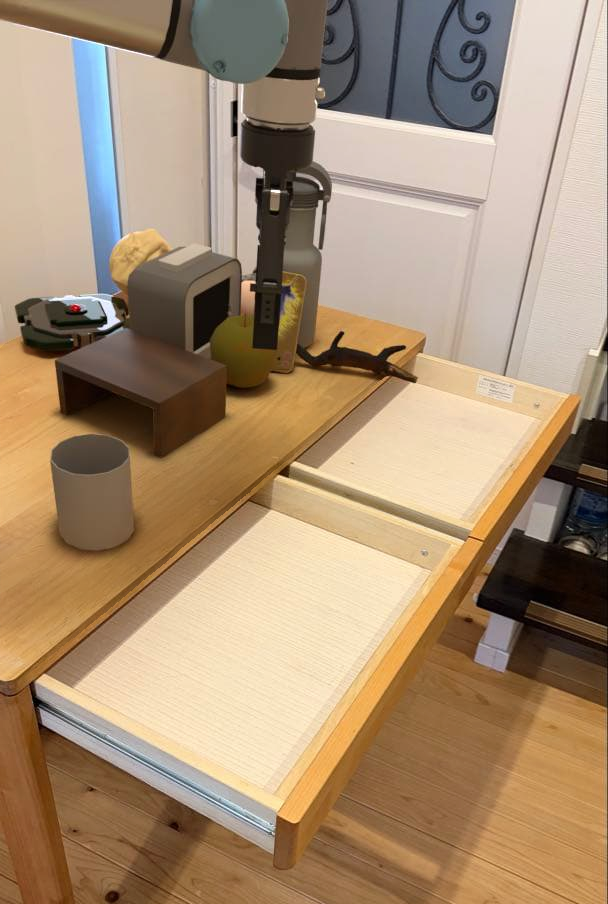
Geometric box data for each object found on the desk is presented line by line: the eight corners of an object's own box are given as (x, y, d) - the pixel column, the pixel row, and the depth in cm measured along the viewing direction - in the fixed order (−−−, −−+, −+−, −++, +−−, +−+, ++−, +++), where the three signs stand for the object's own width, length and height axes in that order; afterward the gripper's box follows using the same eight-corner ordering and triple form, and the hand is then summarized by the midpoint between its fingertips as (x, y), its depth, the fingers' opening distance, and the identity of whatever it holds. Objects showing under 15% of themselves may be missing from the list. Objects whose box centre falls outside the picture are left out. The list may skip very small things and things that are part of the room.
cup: (61, 507, 96) (52, 434, 90) (133, 504, 98) (128, 432, 92) (58, 552, 90) (48, 477, 84) (134, 548, 92) (130, 474, 85)
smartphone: (259, 266, 125) (259, 267, 126) (244, 365, 127) (244, 366, 128) (308, 275, 126) (307, 276, 127) (292, 374, 128) (292, 374, 129)
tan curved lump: (157, 320, 144) (116, 281, 135) (124, 298, 151) (84, 259, 142) (198, 269, 143) (160, 227, 135) (164, 250, 151) (125, 208, 142)
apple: (196, 380, 124) (196, 310, 117) (241, 362, 130) (244, 295, 123) (243, 404, 119) (245, 333, 112) (288, 384, 125) (293, 316, 118)
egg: (266, 280, 144) (284, 315, 142) (238, 303, 147) (255, 338, 144) (246, 266, 138) (265, 302, 136) (217, 290, 141) (235, 326, 138)
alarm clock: (184, 377, 124) (183, 276, 115) (123, 357, 128) (117, 258, 118) (239, 340, 136) (242, 246, 127) (182, 323, 140) (181, 230, 130)
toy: (428, 348, 127) (422, 370, 124) (415, 380, 133) (409, 402, 131) (290, 301, 127) (281, 322, 125) (283, 336, 134) (274, 357, 131)
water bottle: (318, 330, 142) (335, 157, 125) (314, 355, 134) (332, 174, 117) (259, 324, 142) (268, 150, 125) (253, 348, 134) (261, 166, 117)
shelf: (161, 457, 107) (159, 403, 102) (60, 413, 113) (54, 360, 109) (225, 416, 116) (226, 365, 111) (129, 378, 123) (126, 327, 118)
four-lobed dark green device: (121, 306, 144) (119, 280, 141) (144, 350, 131) (143, 323, 128) (14, 313, 138) (10, 286, 135) (27, 360, 125) (23, 332, 122)
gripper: (321, 154, 72) (300, 373, 85) (311, 101, 92) (295, 285, 105) (236, 146, 72) (227, 368, 85) (244, 94, 91) (236, 281, 104)
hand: (265, 323), depth 95 cm, fingers open, 13 cm apart
